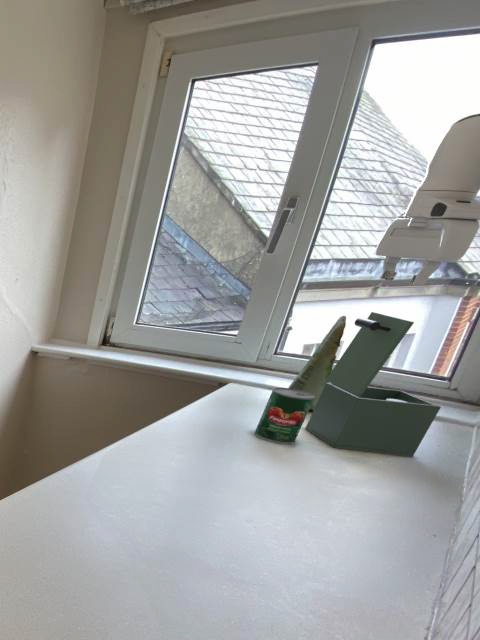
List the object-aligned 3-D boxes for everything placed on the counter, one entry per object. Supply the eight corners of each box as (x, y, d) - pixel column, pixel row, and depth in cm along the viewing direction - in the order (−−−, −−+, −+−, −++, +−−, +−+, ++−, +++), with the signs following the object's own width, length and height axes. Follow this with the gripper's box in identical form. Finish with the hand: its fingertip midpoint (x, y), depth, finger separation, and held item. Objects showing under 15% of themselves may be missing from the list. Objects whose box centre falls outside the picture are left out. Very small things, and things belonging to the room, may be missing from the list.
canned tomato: (264, 441, 126) (284, 396, 121) (247, 429, 133) (265, 386, 128) (302, 445, 125) (323, 399, 120) (283, 433, 132) (303, 389, 127)
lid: (375, 312, 123) (353, 307, 123) (414, 322, 112) (389, 316, 112) (328, 381, 130) (307, 375, 131) (360, 396, 119) (338, 390, 120)
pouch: (302, 401, 158) (342, 312, 147) (339, 415, 147) (384, 320, 136) (267, 400, 157) (304, 310, 146) (300, 414, 147) (343, 318, 135)
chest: (376, 437, 133) (401, 390, 128) (412, 457, 122) (441, 406, 117) (304, 428, 136) (326, 382, 131) (333, 447, 125) (357, 398, 120)
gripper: (385, 208, 118) (353, 276, 124) (457, 207, 100) (416, 286, 106) (418, 210, 117) (385, 279, 123) (498, 209, 99) (454, 289, 105)
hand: (400, 282), depth 114 cm, fingers open, 8 cm apart
